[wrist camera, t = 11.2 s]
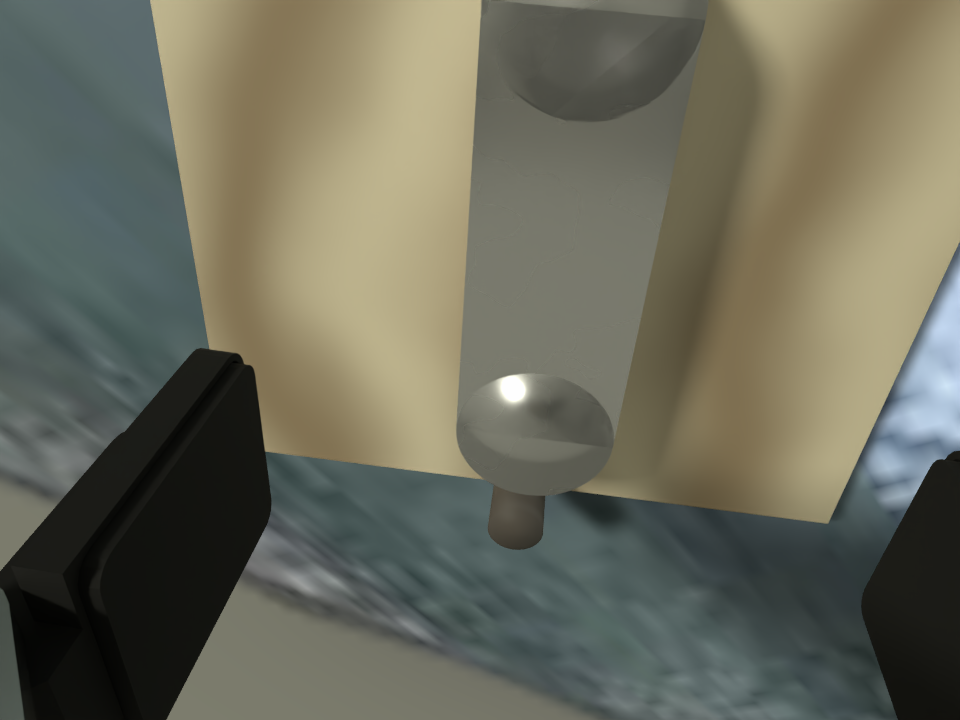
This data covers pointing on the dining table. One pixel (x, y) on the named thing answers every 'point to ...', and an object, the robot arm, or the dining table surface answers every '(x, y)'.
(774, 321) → the board
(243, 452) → the robot arm
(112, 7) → the dining table surface
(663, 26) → the grey capsule bar
